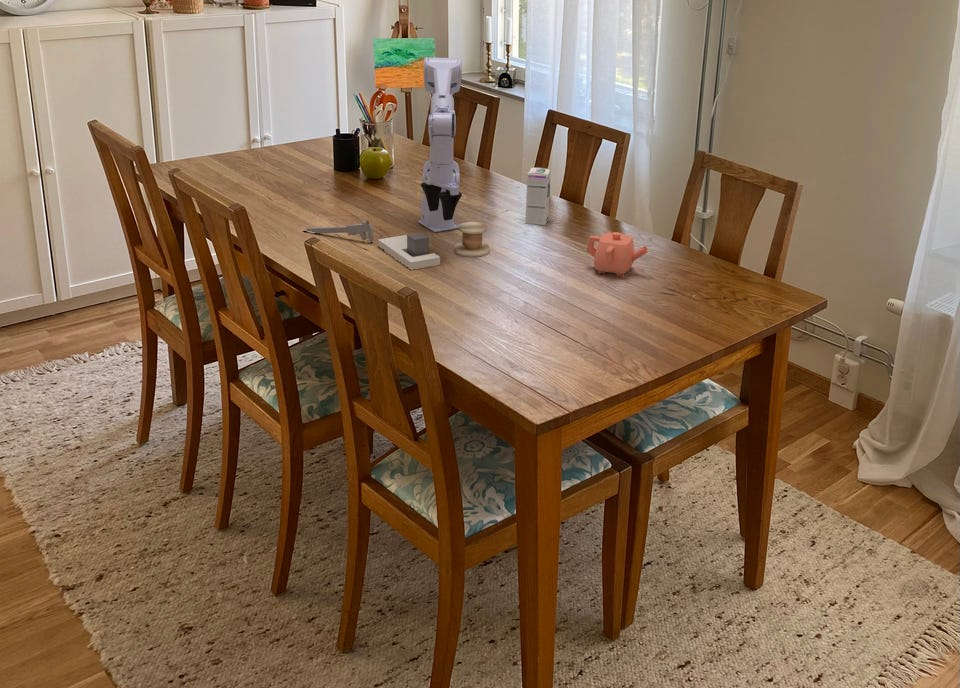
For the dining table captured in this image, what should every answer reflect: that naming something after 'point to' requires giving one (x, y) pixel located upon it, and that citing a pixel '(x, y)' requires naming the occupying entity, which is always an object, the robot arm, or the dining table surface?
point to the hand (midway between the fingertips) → (440, 215)
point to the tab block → (417, 244)
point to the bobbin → (472, 240)
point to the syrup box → (538, 196)
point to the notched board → (399, 252)
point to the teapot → (614, 252)
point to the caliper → (348, 230)
